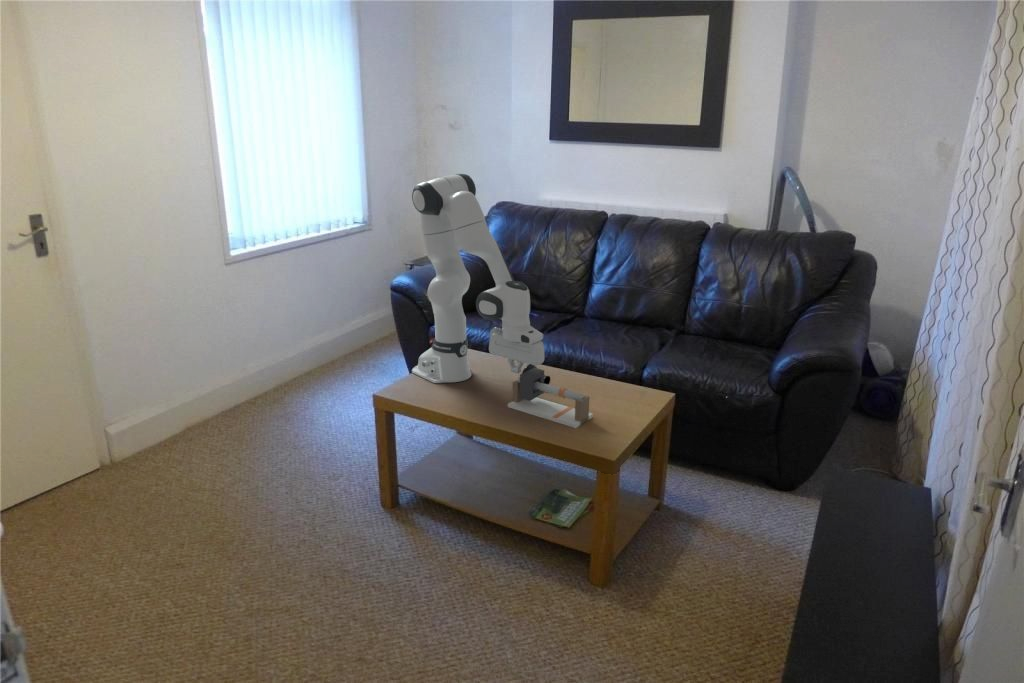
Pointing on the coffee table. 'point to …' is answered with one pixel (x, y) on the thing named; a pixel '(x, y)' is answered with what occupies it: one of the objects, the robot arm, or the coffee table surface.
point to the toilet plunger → (529, 367)
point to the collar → (531, 383)
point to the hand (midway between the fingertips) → (515, 372)
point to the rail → (553, 405)
